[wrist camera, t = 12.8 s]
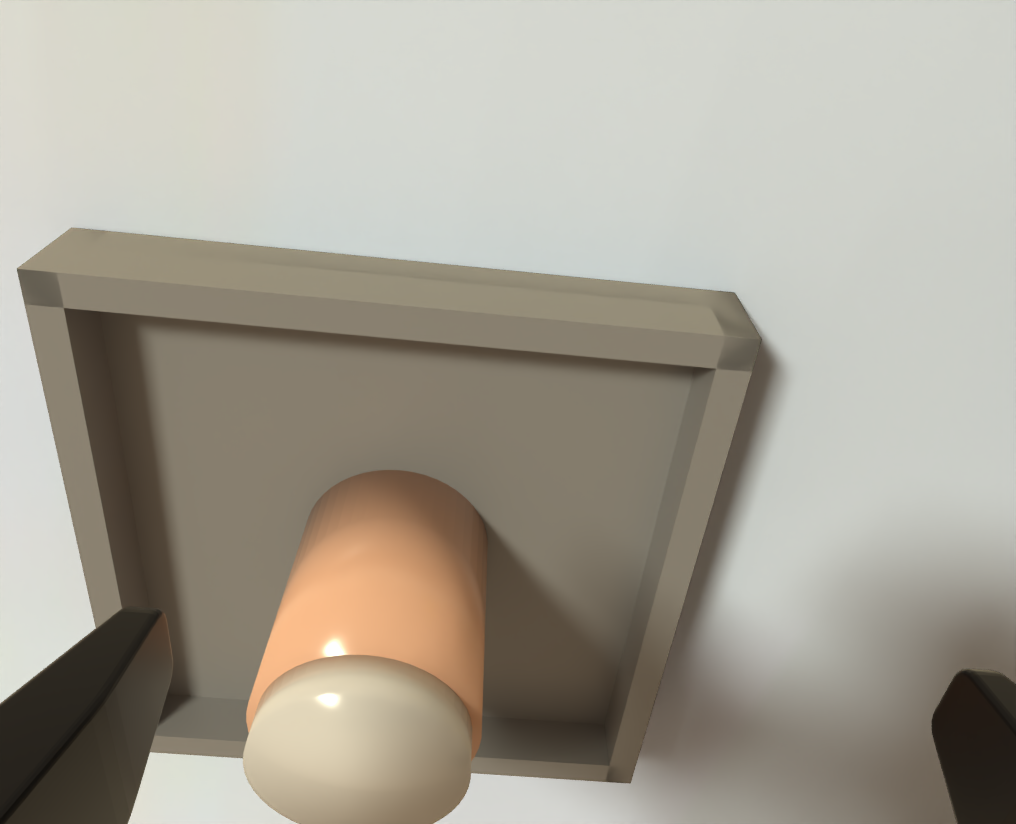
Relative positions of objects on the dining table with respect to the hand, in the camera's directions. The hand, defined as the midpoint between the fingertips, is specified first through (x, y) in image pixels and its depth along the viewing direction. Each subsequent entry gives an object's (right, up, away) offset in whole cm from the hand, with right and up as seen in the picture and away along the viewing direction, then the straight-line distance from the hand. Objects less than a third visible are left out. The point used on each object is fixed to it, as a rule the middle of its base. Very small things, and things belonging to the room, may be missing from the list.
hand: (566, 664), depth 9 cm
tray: (-4, 0, +14) cm, 15 cm away
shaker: (-4, -1, +13) cm, 14 cm away
